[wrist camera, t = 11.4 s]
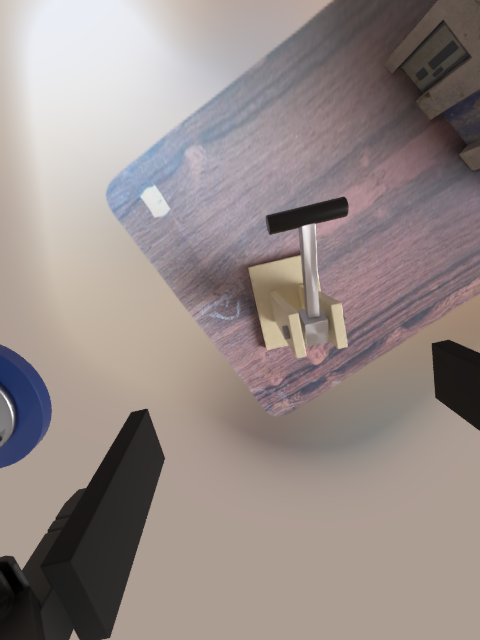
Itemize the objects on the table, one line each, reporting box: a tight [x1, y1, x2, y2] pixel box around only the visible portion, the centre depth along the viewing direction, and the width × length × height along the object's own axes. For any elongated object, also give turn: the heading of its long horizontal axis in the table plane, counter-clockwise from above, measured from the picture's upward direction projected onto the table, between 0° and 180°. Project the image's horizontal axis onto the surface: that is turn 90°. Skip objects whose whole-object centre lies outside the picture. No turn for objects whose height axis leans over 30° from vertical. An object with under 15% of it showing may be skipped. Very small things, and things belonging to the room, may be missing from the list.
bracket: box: [248, 255, 348, 358], centre depth 34 cm, size 12×9×15 cm
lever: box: [266, 197, 348, 347], centre depth 26 cm, size 13×6×2 cm, turn 13°
